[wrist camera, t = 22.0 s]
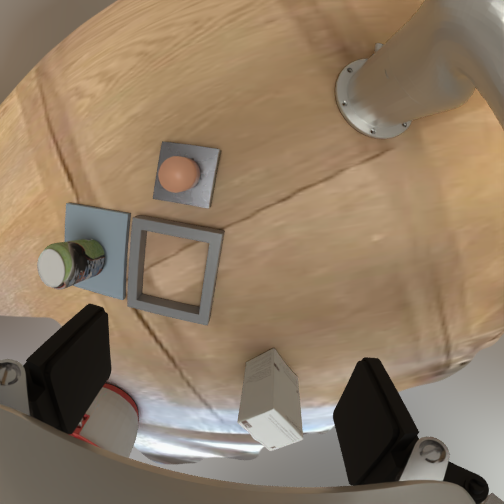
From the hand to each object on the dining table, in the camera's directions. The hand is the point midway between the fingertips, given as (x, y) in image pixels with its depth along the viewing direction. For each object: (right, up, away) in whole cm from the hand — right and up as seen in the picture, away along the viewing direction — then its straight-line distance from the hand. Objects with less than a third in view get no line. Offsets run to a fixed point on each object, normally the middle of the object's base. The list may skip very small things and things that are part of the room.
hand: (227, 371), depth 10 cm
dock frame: (-11, +2, +33) cm, 35 cm away
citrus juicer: (-29, -27, +42) cm, 57 cm away
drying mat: (-24, +4, +33) cm, 41 cm away
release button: (-8, +14, +27) cm, 32 cm away
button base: (-8, +15, +30) cm, 34 cm away
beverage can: (-24, +4, +32) cm, 41 cm away
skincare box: (+4, -16, +38) cm, 41 cm away
